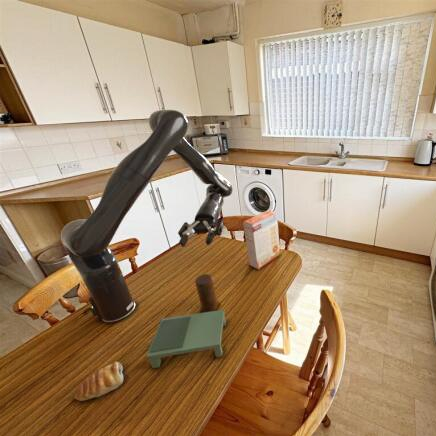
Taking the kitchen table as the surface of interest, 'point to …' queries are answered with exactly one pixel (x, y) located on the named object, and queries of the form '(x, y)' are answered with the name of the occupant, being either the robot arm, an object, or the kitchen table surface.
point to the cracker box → (262, 238)
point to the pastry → (100, 382)
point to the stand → (187, 335)
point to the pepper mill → (206, 293)
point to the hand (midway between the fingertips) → (194, 244)
